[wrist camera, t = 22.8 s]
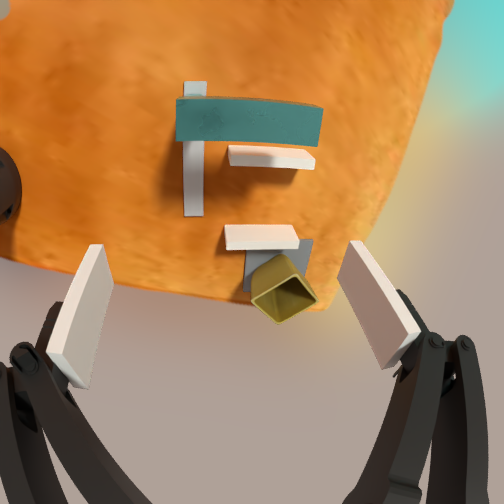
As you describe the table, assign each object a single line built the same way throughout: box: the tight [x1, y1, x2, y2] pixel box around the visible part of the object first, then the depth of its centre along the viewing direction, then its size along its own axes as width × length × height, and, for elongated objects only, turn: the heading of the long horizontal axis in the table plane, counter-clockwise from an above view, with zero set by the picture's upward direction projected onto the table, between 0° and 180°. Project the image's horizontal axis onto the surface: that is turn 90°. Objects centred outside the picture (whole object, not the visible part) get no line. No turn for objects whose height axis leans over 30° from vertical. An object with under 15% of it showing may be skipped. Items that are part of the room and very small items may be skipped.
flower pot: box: [251, 254, 319, 325], centre depth 49 cm, size 9×9×9 cm
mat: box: [243, 239, 313, 292], centre depth 53 cm, size 12×12×1 cm
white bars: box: [183, 81, 315, 250], centre depth 38 cm, size 18×24×5 cm
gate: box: [176, 94, 323, 147], centre depth 29 cm, size 14×4×14 cm, turn 85°
